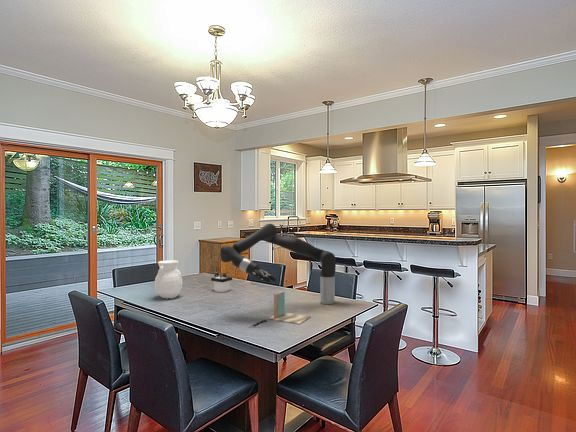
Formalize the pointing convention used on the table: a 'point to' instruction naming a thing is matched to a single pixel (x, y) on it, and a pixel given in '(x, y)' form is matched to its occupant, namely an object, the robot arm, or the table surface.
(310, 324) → the table surface
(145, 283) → the table surface
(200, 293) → the table surface
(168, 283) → the white vase
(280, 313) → the tile
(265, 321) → the kitchen knife
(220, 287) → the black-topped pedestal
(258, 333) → the table surface
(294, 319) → the board
